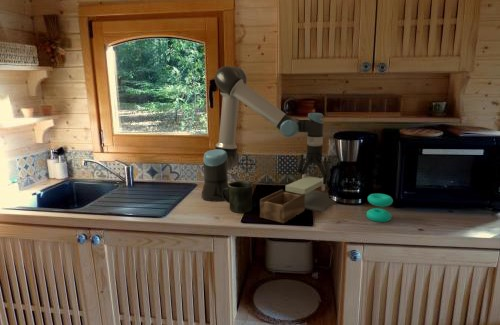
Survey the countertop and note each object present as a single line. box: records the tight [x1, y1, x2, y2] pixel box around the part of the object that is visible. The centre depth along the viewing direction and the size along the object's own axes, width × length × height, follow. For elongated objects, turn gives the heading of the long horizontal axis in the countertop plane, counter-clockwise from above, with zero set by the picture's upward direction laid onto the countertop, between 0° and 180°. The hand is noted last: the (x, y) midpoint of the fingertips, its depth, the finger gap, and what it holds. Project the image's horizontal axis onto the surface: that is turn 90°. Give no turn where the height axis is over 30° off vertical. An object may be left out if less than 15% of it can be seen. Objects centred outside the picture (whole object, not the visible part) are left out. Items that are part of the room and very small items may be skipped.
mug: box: [222, 180, 254, 214], centre depth 161 cm, size 11×15×12 cm
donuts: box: [366, 192, 394, 223], centre depth 150 cm, size 10×10×10 cm
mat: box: [305, 189, 337, 213], centre depth 173 cm, size 18×26×1 cm
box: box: [259, 189, 306, 224], centre depth 156 cm, size 12×18×8 cm, turn 144°
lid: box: [284, 175, 322, 195], centre depth 172 cm, size 10×22×2 cm, turn 144°
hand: (313, 188), depth 179 cm, fingers closed on lid, 10 cm apart
